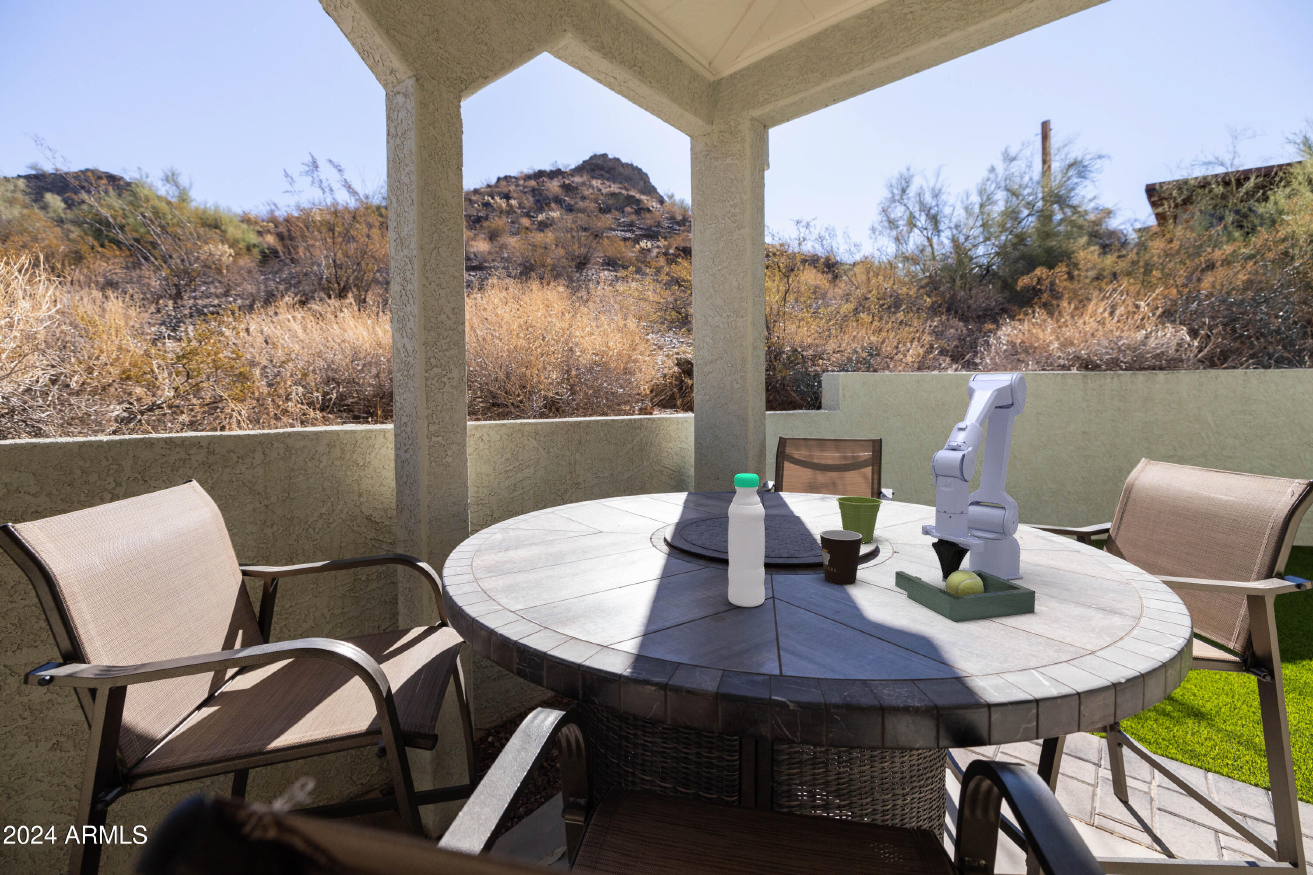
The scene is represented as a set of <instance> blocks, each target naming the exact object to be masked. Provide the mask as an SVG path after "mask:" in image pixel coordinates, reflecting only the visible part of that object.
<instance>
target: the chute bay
mask: <svg viewBox="0 0 1313 875" xmlns="http://www.w3.org/2000/svg"><path fill="white" fill-rule="evenodd" d="M972 572H973V573H975V574H976V575H977V576H978V577H979V578H980V579H981V580H982V582H983V586H984V593H981V594H972V595H963V596H956V595H953V594H951V593H949V592H947V591H946V589H942V588H940V587H938V586H936V585H934V584H931V583H930V582H927V581H925V580H923V579H922V578H921V577H919V576H914V575H912V574H910V573H907V572H905V571H903V570H897V571H895V574H894V575H895V576H894V577H895V578H894V580H895V584H894V586H895V587H897V588H900V589H902V590H903V591H905V592H906V596H907V598H908V599H910V600H912V601H914V602H916V603H918V604H920V605H922V606H924V607H926V608H927V609H930V610H931V611H933V612H935V613H938V614H939V615H941V616H943V617H946V618H947V619H949V620H951V621H952V622H955V623H958V622H966V621H974V620H983V619H989V618H999V617H1007V616H1008V617H1009V616H1014V615H1015V616H1017V615H1023V614H1031V613H1033V614H1034V613H1035V609H1036V607H1035V606H1036V605H1035V604H1036V590H1033V589H1031V588H1028V587H1026V586H1023V585H1020V584H1018V583H1016V582H1013V581H1010V580H1009V579H1007V580H1005V579H1002V578H1000V577H997V576H995V575H992V574H989V573H987V572H984V571H981V570H975V571H972ZM941 574H942V573H941ZM941 577H942V579H941V580H942V582H944V583H946V581H947V579H944V578H943V574H942V576H941Z"/></svg>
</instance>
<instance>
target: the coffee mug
mask: <svg viewBox="0 0 1313 875" xmlns="http://www.w3.org/2000/svg"><path fill="white" fill-rule="evenodd" d="M819 536H820V538H819V539H820V547H821V556H822V566H823V574H824V576H823V577H824V580H825V582H827V583H829V584H832V585H837V586H850V585H854V584H855V583H856V582H857V574H858V570H859V560H860V554H861V546H862V544H861V541H862V535H861V534H859V533H856V532H852V531H846V530H843V529H829V530H823V531H821V532H820V533H819Z"/></svg>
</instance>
